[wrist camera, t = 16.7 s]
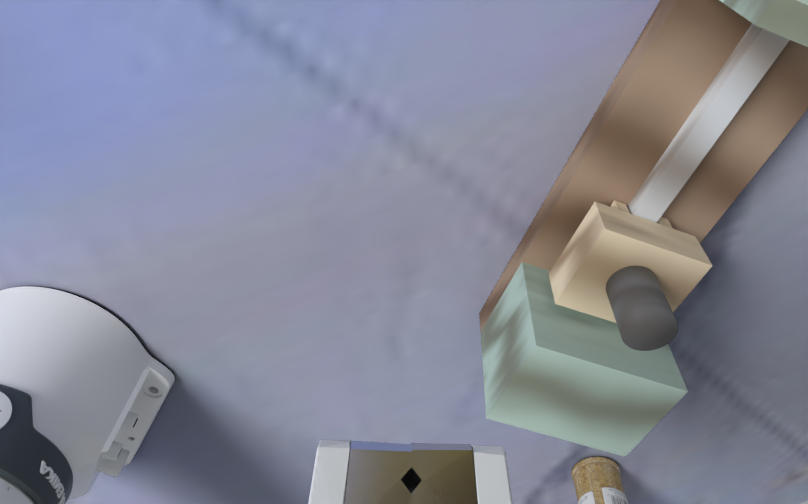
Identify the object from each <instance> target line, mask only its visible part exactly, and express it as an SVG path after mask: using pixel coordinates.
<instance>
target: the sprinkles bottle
mask: <svg viewBox="0 0 808 504" xmlns="http://www.w3.org/2000/svg"><path fill="white" fill-rule="evenodd" d="M571 473H572V474H571V476H572V479H573V481H574V484H575V489H576V494H577V499H578V504H628V501H627V498H626V496H625V493H624V489H623V486H622V482H621V478H620V468H619V466H618V465H617V463H616V462H614V461H613V460H611V459H608V458H604V457H589V458H587V459H583V460H582V461H579V462H578V463H576V465H574V467H573V468H572V472H571Z"/></svg>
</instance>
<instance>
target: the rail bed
mask: <svg viewBox="0 0 808 504" xmlns="http://www.w3.org/2000/svg"><path fill="white" fill-rule="evenodd" d="M807 109H808V0H660V2H659V4H658V6H657V7H656V9H655V11H654V12H653V14H652V16H651V18H650V19H649V21H648V23H647V25H646V26H645V28H644V30H643V31H642V33H641V35H640V37H639V38H638V40H637V42H636V44H635V45H634V47H633V49H632V51H631V52H630V54H629V56H628V57H627V59H626V61H625V63H624V64H623V66H622V68H621V70H620V71H619V73H618V75H617V76H616V78H615V80H614V82H613V83H612V85H611V87H610V89H609V90H608V92H607V94H606V95H605V97H604V99H603V101H602V102H601V104H600V106H599V108H598V109H597V111H596V113H595V114H594V116H593V118H592V120H591V121H590V123H589V125H588V127H587V128H586V130H585V132H584V134H583V135H582V137H581V139H580V140H579V142H578V144H577V146H576V147H575V149H574V151H573V153H572V154H571V156H570V158H569V159H568V161H567V163H566V165H565V166H564V168H563V170H562V172H561V173H560V175H559V177H558V178H557V180H556V182H555V184H554V185H553V187H552V189H551V191H550V192H549V194H548V196H547V197H546V199H545V201H544V203H543V204H542V206H541V208H540V210H539V211H538V213H537V215H536V216H535V218H534V220H533V222H532V223H531V225H530V227H529V229H528V230H527V232H526V234H525V236H524V237H523V239H522V241H521V242H520V244H519V246H518V248H517V249H516V251H515V253H514V255H513V256H512V258H511V260H510V261H509V263H508V265H507V267H506V268H505V270H504V272H503V274H502V275H501V277H500V279H499V280H498V282H497V284H496V286H495V287H494V289H493V291H492V293H491V294H490V296H489V298H488V299H487V301H486V303H485V305H484V306H483V308H482V310H481V312H480V313H479V315H480V330H481V345H482V360H483V375H484V390H485V405H486V418H487V419H490V420H494V421H498V422H501V423H505V424H508V425H512V426H516V427H519V428H523V429H526V430H530V431H534V432H537V433H541V434H544V435H548V436H552V437H555V438H559V439H562V440H566V441H570V442H573V443H577V444H580V445H584V446H588V447H591V448H595V449H598V450H602V451H606V452H609V453H613V454H616V455H620V456H624V457H626V456H627V454H628V453H629V452H630V451H631V450H632V449H633V448H634V447H635V446H636V445H637V444H638V443H639V442H640V441H641V440H642V439H643V438H644V437H645V436H646V435H647V434H648V433H649V432H650V431H651V430H652V429H653V428H654V426H655V425H656V424H657V423H658V422H659V421H660V420H661V419H662V418H663V417H664V416H665V415H666V414H667V413H668V412H669V411H670V410H671V409H672V408H673V407H674V406H675V405H676V404H677V403H678V402H679V401H680V400H681V399H682V397H683V396H684V395H685V394H686V393H687V392H688V390H687V388H686V385H685V383H684V380H683V378H682V376H681V373H680V371H679V368H678V366H677V364H676V361H675V359H674V357H673V354H672V352H671V349H670V347H669V345H668V344H667V345H665V346H664V347H661V348H659V349H656V350H651V351H638V350H634V349H632V348H630V347H628V346H627V345H626V344H625V343H624V342H623V340H622V338H621V335H620V332H619V329H618V326H617V323H614V322H611V321H608V320H605V319H602V318H599V317H595V316H592V315H589V314H586V313H583V312H579V311H576V310H573V309H570V308H567V307H564V306H560V305H557V304H555V301H554V296H553V292H552V287H551V283H550V278H549V272H550V271H551V269H552V268H553V266H554V265H555V263H556V261H557V260H558V258H559V257H560V255H561V254H562V252H563V251H564V249H565V247H566V246H567V244H568V243H569V241H570V240H571V238H572V236H573V235H574V233H575V232H576V230H577V229H578V227H579V225H580V224H581V222H582V221H583V219H584V218H585V216H586V214H587V213H588V211H589V210H590V208H591V207H592V205H593V203H594V202H598V203H601V204H604V205H607V206H609V207H610V206H611V204H612V203H613V201H614V200H615V201H618V202H621V203H624V204H626V206H627V208H628V210H629V213H630V214H632V215H635V216H638V217H641V218H644V219H647V220H650V221H653V222H655V223H657V221H658V220H659V219H660V217H664V218H667V219H668V220H669V222H670V224H671V226H672V228H673V229H676V230H679V231H681V232H684V233H687V234H690V235H693V236H696V238H697V240H698V242H699V243H701V241H702V240H703V239H704V238H705V236H706V235H707V234H708V233H709V231H710V230H711V229H712V228H713V226H714V225H715V224H716V223H717V221H718V220H719V219H720V218H721V216H722V215H723V214H724V213H725V211H726V210H727V209H728V208H729V206H730V205H731V204H732V203H733V201H734V200H735V199H736V198H737V196H738V195H739V194H740V193H741V191H742V190H743V189H744V188H745V186H746V185H747V184H748V183H749V181H750V180H751V179H752V178H753V176H754V175H755V174H756V173H757V171H758V170H759V169H760V168H761V166H762V165H763V164H764V163H765V162H766V160H767V159H768V158H769V157H770V155H771V154H772V153H773V152H774V150H775V149H776V148H777V147H778V145H779V144H780V143H781V142H782V140H783V139H784V138H785V137H786V135H787V134H788V133H789V132H790V130H791V129H792V128H793V127H794V125H795V124H796V123H797V122H798V120H799V119H800V118H801V117H802V115H803V114H804V113H805V112H806V110H807Z"/></svg>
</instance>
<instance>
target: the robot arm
mask: <svg viewBox="0 0 808 504" xmlns="http://www.w3.org/2000/svg"><path fill="white" fill-rule="evenodd" d="M174 381H175V377H174V375H173V373H172V372H171V371H170V370H169V369H167V368H166V367H165V366H164V365H162V364H161V363H160V362H158V361H157V360H156V359H154V358H153V357H151V356H150V355H149V354H148V353H147V351H146V350H145V349H144V347H143V346H142V345H141V343H140V342H139V340H138V339H137V338H136V336H135V335H134V334H133V333H132V332H131V331H130V329H129V328H127V327H126V326H125V325H124V324H123V323H122V322H121V321H120V320H119V319H117V318H116V317H115V316H113V315H112V314H110V313H109V312H107V311H106V310H104V309H103V308H101V307H99V306H98V305H96V304H94V303H92V302H90V301H88V300H85V299H83V298H81V297H78V296H75V295H73V294H70V293H66V292H63V291H59V290H55V289H50V288H43V287H30V286H29V287H14V288H9V289H4V290H1V291H0V504H65V503H66V501H67V500H69V499H74V498H78V497H81V496H83V495H85V494H87V493H88V492H89V491H90V489H91V487H92V486H93V484H94V482H95V480H96V478H97V476H98V474H99V473H100V472H102V471H103V473H106V474H108V475H111V476H114V477H116V476H117V477H118V476H119V474H120V472H121V470H122V468H123V466H124V465H128V464H129V463H130V462H131V460H132V459H133V457H134V456H135V454H136V452H137V451H138V449H139V447H140V445H141V443H142V441H143V439H144V437H145V436H146V434H147V432H148V430H149V428H150V426H151V424H152V423H153V421H154V419H155V417H156V415H157V413H158V411H159V409H160V408H161V406H162V404H163V402H164V400H165V398H166V396H167V395H168V393H169V391H170V389H171V387H172V385H173V383H174ZM308 504H513V503H512V496H511V489H510V482H509V475H508V468H507V461H506V454H505V451H504V449H503V448H502V446H476V445H472V446H471V445H470V444H428V443H411V444H397V443H380V442H363V441H347V440H322V439H321V440H320V443H319V446H318V448H317V453H316V459H315V466H314V472H313V478H312V484H311V490H310V496H309V502H308Z"/></svg>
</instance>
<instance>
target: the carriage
mask: <svg viewBox="0 0 808 504" xmlns="http://www.w3.org/2000/svg"><path fill="white" fill-rule="evenodd" d="M712 266H713V265H712V264H711V262H710V260H709V259H708V257H707V255H706V253H705V252H704V250H703V248H702V247H701V245H700V243H699V242H698V240H697V238H696V236H693V235H690V234H687V233H684V232H681V231H679V230H676V229H673V228H672V226H671V224H670V222H669V220H668V219H667V218H664V217H660V219H659V220H658V221H657V223H655V222H653V221H650V220H647V219H644V218H641V217H638V216H635V215H632V214H630V213H629V210H628V208H627V206H626V204H624V203H621V202H618V201H615V200H614V201H613V203H612V204H611V206H610V207H609V206H607V205H604V204H601V203H598V202H594V203H593V205H592V207H591V208H590V210H589V211H588V213H587V214H586V216H585V218H584V219H583V221H582V222H581V224H580V225H579V227H578V229H577V230H576V232H575V233H574V235H573V236H572V238H571V240H570V241H569V243H568V244H567V246H566V247H565V249H564V251H563V252H562V254H561V255H560V257H559V258H558V260H557V261H556V263H555V265H554V266H553V268H552V269H551V271H550V272H549V278H550V283H551V287H552V292H553V296H554V301H555V304H557V305H560V306H564V307H567V308H570V309H573V310H576V311H579V312H583V313H586V314H589V315H592V316H595V317H599V318H602V319H605V320H608V321H611V322H614V323H617V326H618V329H619V332H620V335H621V338H622V340H623V342H624V343H625V344H626V345H627V346H628V347H630V348H632V349H634V350H638V351H651V350H656V349H659V348H661V347H664V346H665V345H667V344H669V343H670V342H671V341H672V340H673V339H674V338H675V336H676V334H677V332H678V323H677V321H676V319H675V316H674V314H673V312H674V311H675V310H676V309H677V307H678V306H679V305H680V304H681V303H682V302H683V300H684V299H685V298H686V297H687V296H688V294H689V293H690V292H691V291H692V290H693V288H694V287H695V286H696V285H697V284H698V282H699V281H700V280H701V279H702V278H703V277H704V275H705V274H706V273H707V272H708V271H709V269H710V268H711V267H712Z"/></svg>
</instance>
